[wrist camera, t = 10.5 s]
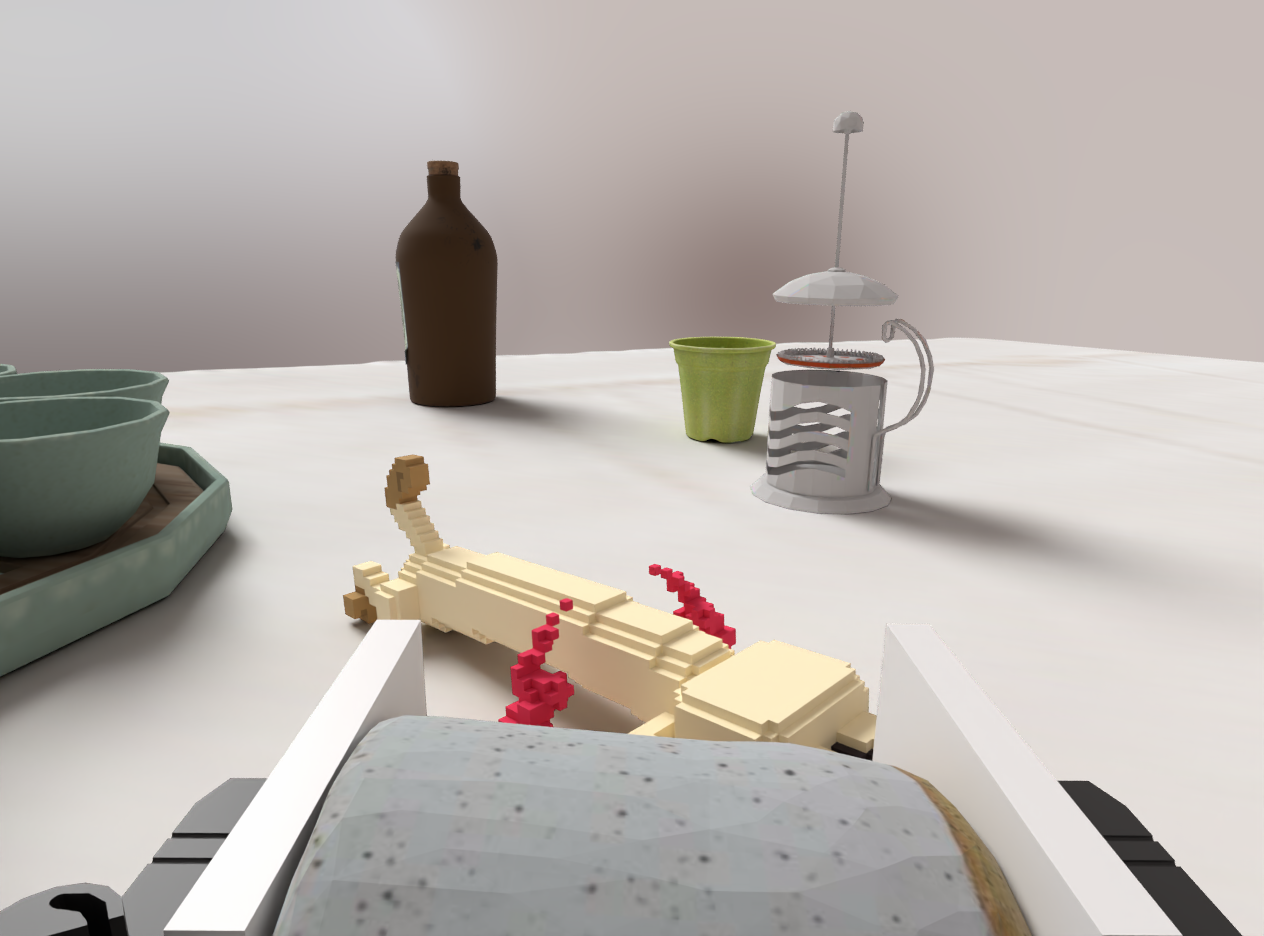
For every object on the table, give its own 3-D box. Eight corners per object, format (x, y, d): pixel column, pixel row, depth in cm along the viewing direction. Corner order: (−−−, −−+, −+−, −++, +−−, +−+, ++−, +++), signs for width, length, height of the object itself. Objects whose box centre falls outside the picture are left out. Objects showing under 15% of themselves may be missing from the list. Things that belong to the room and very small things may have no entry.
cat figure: (304, 667, 35) (793, 987, 18) (277, 472, 33) (792, 617, 16) (491, 601, 42) (973, 784, 25) (476, 436, 40) (986, 510, 23)
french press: (786, 466, 63) (809, 127, 57) (936, 493, 57) (981, 113, 50) (724, 495, 56) (742, 106, 49) (888, 530, 49) (934, 87, 43)
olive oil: (512, 393, 94) (507, 167, 88) (484, 410, 84) (475, 156, 77) (426, 390, 96) (414, 167, 89) (388, 406, 85) (371, 156, 79)
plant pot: (705, 453, 67) (709, 349, 65) (648, 431, 75) (650, 338, 73) (791, 441, 72) (798, 344, 70) (729, 422, 80) (733, 334, 78)
